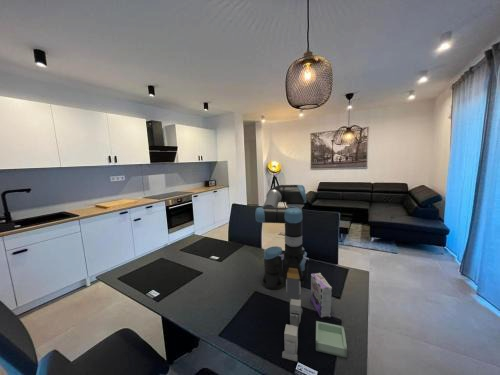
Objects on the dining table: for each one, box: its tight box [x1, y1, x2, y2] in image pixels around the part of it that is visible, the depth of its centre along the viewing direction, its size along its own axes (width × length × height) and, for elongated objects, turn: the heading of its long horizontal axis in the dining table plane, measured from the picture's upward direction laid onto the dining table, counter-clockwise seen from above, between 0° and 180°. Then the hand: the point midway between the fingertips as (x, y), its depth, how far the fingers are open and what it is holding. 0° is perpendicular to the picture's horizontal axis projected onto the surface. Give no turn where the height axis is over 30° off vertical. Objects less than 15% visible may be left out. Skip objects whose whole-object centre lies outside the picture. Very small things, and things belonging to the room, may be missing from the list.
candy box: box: [310, 272, 333, 318], centre depth 112 cm, size 14×6×16 cm, turn 5°
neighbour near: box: [283, 323, 299, 356], centre depth 89 cm, size 5×5×9 cm
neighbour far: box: [289, 298, 302, 324], centre depth 106 cm, size 5×5×9 cm
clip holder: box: [281, 307, 303, 363], centre depth 97 cm, size 6×28×6 cm, turn 162°
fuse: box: [286, 268, 300, 300], centre depth 95 cm, size 5×5×12 cm
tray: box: [315, 320, 348, 359], centre depth 92 cm, size 12×12×4 cm
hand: (293, 291), depth 95 cm, fingers closed on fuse, 5 cm apart
